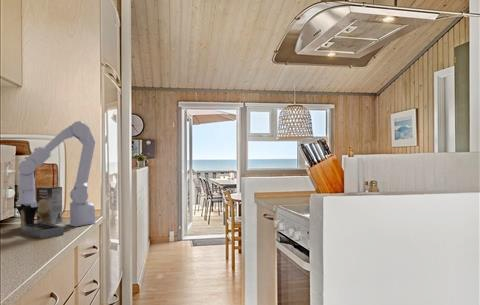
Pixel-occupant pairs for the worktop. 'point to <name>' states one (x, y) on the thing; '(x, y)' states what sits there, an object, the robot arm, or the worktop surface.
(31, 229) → the grey shallow tray
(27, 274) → the worktop surface
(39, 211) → the coffee box
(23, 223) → the walnut peg
